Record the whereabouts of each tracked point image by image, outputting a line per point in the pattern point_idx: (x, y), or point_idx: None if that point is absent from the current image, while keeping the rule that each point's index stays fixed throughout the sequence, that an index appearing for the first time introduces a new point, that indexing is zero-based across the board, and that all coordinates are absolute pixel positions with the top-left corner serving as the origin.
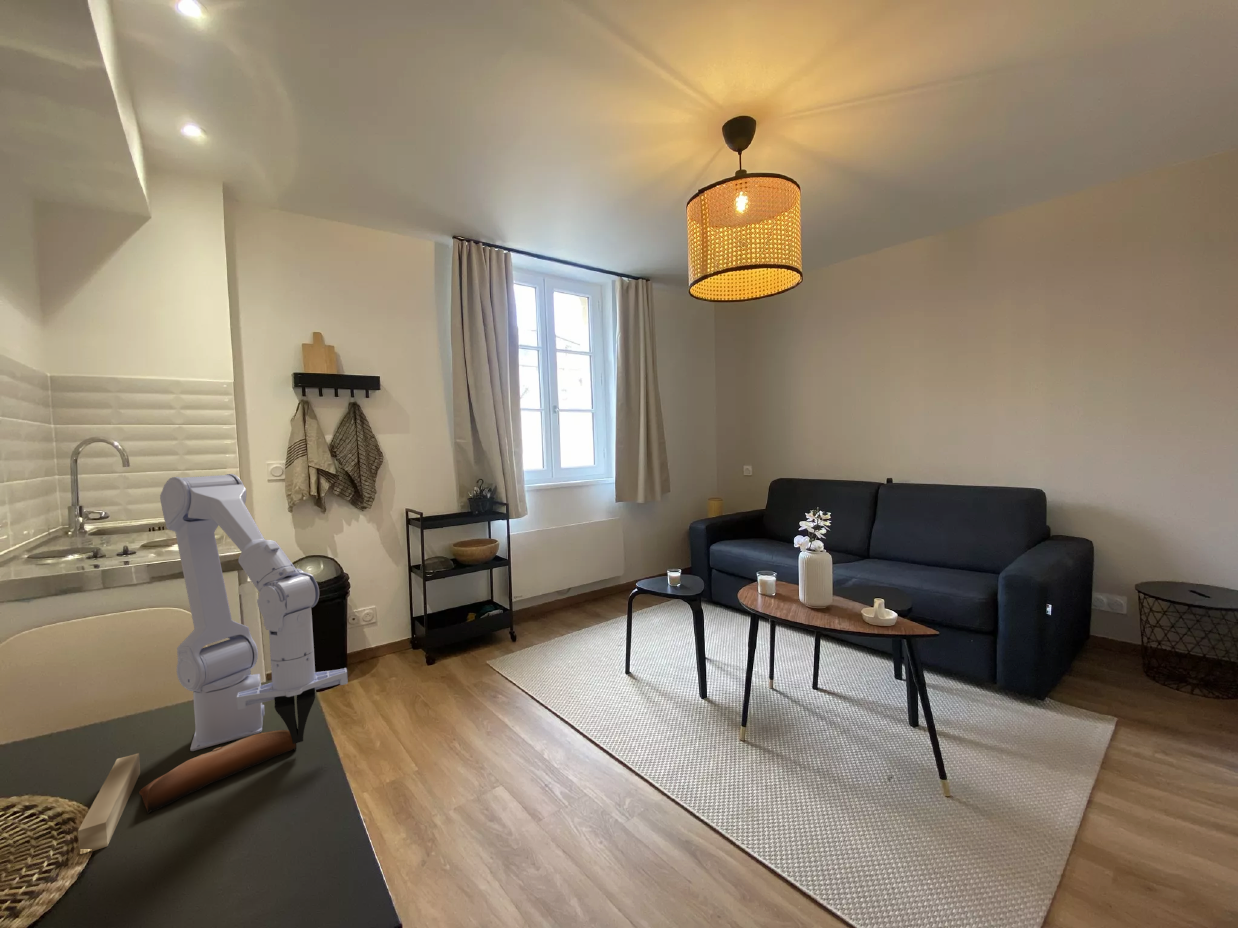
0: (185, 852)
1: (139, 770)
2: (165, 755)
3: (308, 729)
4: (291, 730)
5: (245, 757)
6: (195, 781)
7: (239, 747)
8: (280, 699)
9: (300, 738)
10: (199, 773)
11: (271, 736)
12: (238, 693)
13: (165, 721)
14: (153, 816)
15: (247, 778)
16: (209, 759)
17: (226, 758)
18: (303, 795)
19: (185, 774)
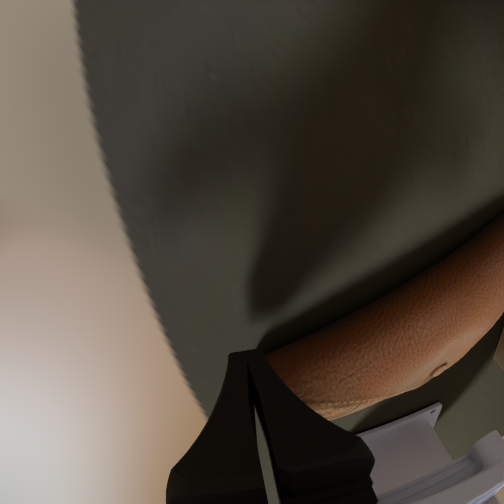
0: (431, 3)
1: (496, 358)
2: (462, 397)
3: None
4: (271, 378)
5: (390, 320)
6: (475, 254)
7: (411, 352)
8: (348, 498)
9: (236, 358)
10: (478, 270)
11: (331, 389)
12: (500, 488)
13: None
14: (500, 196)
15: (366, 265)
16: (468, 313)
17: (436, 314)
18: (189, 70)
19: (499, 269)
